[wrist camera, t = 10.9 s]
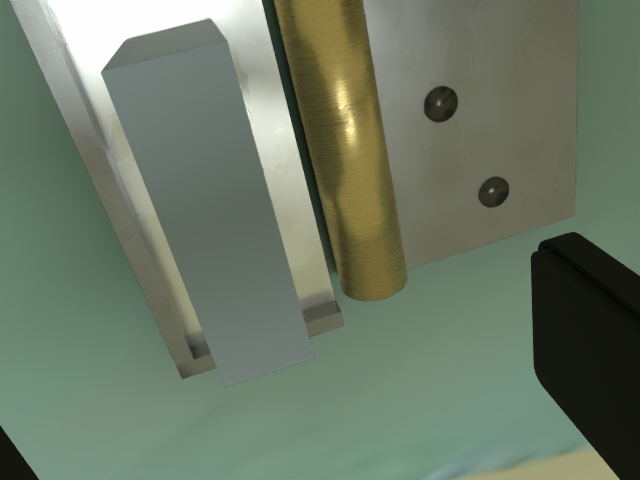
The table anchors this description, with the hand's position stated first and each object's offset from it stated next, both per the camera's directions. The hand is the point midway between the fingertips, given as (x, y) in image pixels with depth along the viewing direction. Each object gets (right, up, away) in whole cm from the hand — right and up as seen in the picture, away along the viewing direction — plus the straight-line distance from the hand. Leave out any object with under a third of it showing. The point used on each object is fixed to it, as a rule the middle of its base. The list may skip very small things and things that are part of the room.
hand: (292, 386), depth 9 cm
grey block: (-4, +6, +12) cm, 13 cm away
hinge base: (+1, +7, +13) cm, 15 cm away
